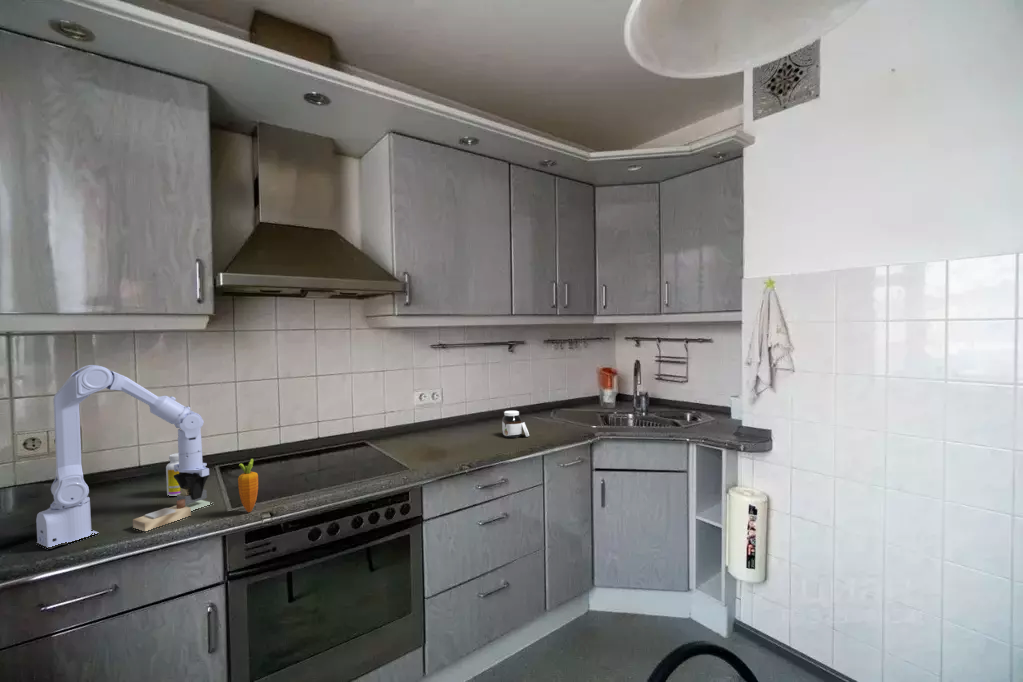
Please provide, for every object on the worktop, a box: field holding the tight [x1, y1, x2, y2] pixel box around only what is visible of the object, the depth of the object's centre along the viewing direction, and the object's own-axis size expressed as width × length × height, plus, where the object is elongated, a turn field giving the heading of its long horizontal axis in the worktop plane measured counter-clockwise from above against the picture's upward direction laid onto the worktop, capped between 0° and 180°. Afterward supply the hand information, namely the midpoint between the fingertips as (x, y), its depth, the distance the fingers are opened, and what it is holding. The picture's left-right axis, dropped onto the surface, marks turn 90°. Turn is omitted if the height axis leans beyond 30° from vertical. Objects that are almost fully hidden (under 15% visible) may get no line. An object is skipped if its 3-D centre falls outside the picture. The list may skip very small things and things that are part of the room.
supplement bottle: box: [165, 452, 180, 497], centre depth 147 cm, size 7×7×13 cm
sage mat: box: [185, 499, 213, 512], centre depth 135 cm, size 8×8×1 cm
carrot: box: [237, 458, 259, 513], centre depth 129 cm, size 5×5×15 cm
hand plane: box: [132, 499, 192, 531], centre depth 124 cm, size 11×6×4 cm, turn 153°
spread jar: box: [501, 410, 530, 439], centre depth 212 cm, size 12×11×12 cm
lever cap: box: [176, 487, 208, 505], centre depth 135 cm, size 6×4×4 cm, turn 153°
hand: (192, 497), depth 135 cm, fingers closed on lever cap, 4 cm apart
